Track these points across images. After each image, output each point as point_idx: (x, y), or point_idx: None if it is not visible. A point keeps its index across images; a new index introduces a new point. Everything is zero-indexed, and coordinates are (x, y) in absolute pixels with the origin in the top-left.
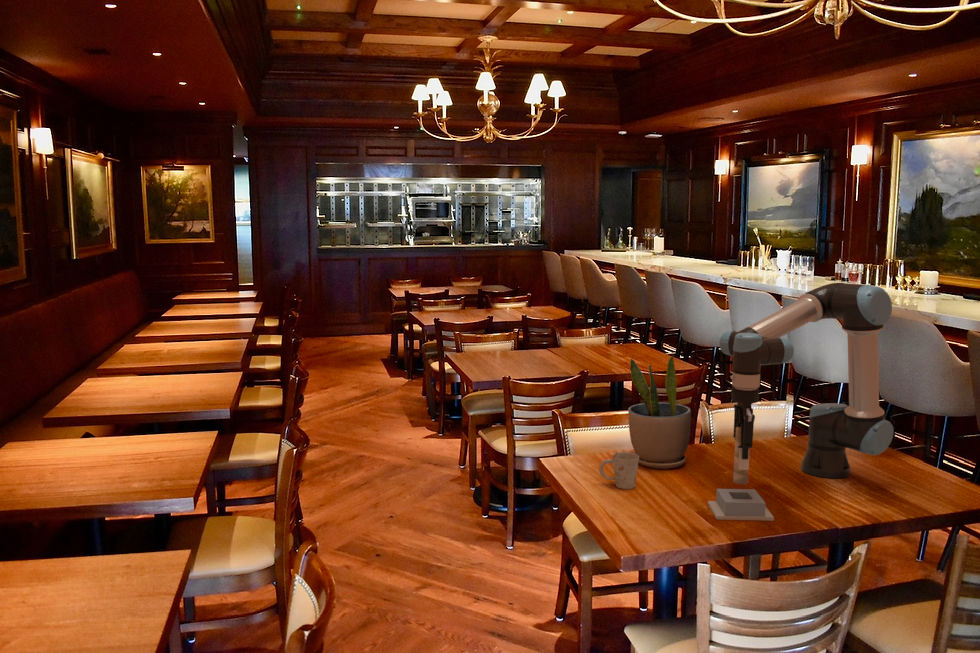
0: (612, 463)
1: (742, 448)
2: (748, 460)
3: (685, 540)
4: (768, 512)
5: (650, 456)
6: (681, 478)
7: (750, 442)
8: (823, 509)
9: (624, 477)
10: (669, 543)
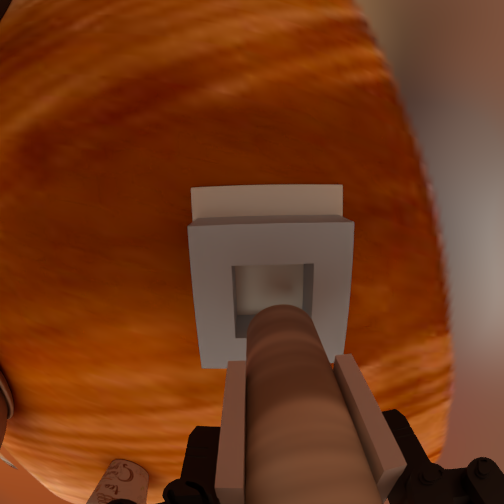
0: None
1: (388, 491)
2: (371, 395)
3: (426, 407)
4: (298, 191)
5: (5, 420)
6: (36, 365)
7: (501, 494)
8: (219, 5)
9: (146, 495)
10: (429, 426)
